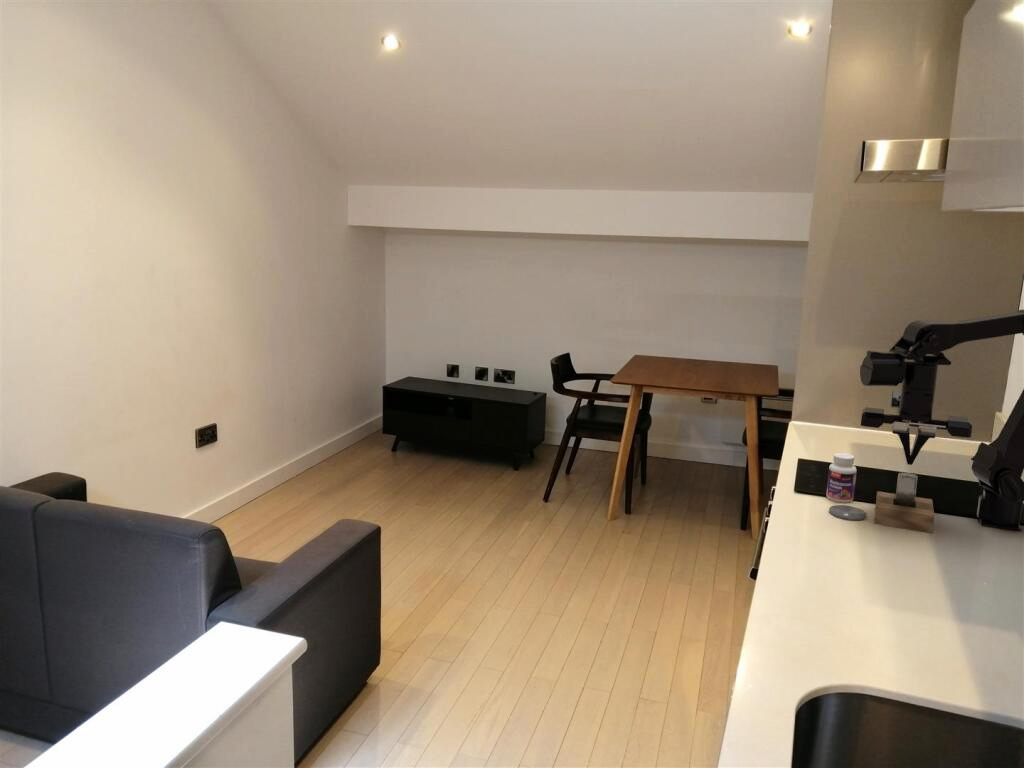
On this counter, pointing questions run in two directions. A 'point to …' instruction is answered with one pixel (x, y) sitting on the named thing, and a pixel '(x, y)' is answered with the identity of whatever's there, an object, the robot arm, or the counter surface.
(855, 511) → the coaster
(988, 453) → the robot arm
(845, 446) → the counter surface
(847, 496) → the pill bottle
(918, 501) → the socket block
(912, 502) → the plug
